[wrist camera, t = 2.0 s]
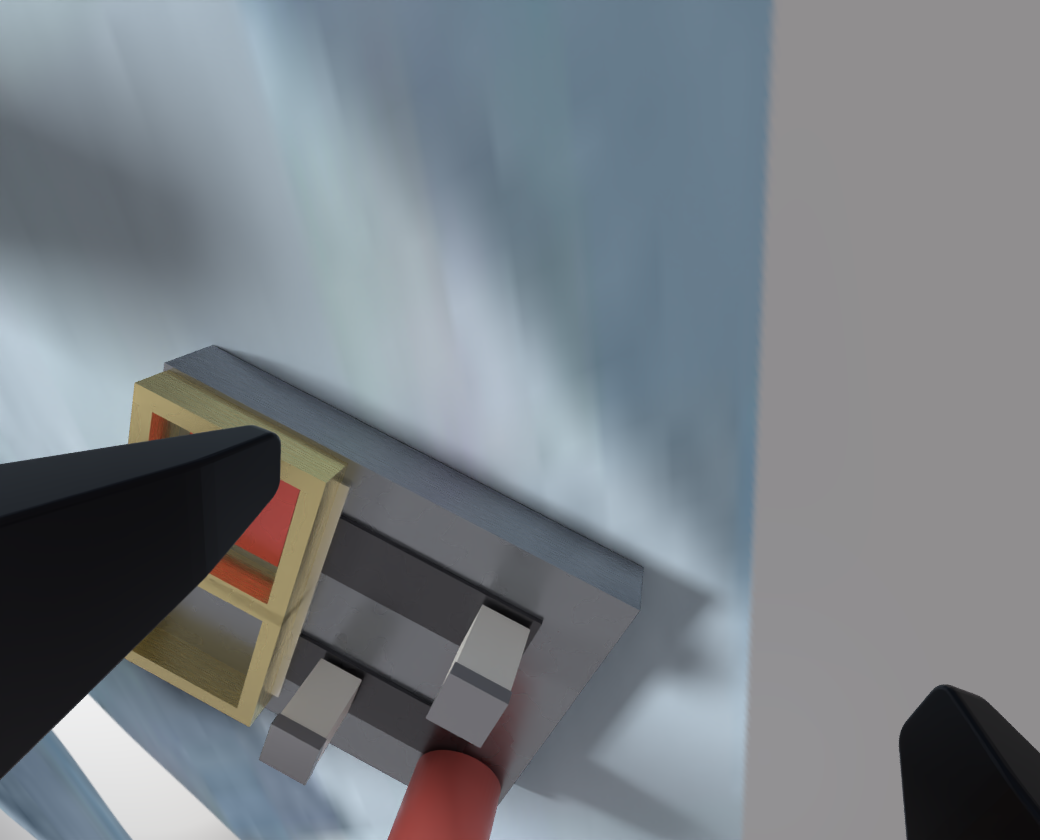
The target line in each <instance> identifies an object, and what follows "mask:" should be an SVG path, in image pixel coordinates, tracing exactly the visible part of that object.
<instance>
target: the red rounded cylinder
mask: <svg viewBox="0 0 1040 840" xmlns="http://www.w3.org/2000/svg"><path fill="white" fill-rule="evenodd" d="M500 793H501V786H500V782H499V780H498V778H497V777H496V775H495V774H494V773H493V771H492V770H491V769H490V768H488V767H487V766H486V765H485V764H483V763H482V762H480V761H479V760H477V759H475V758H473V757H471V756H469V755H466V754H463V753H460V752H456V751H451V750H435V751H430V752H428V753H426V754H424V755H422V756H421V757H420V758H419V760H418V762H417V764H416V767H415V769H414V772H413V775H412V777H411V780H410V782H409V785H408V788H407V790H406V793H405V795H404V798H403V801H402V803H401V806H400V808H399V811H398V814H397V816H396V819H395V821H394V824H393V827H392V829H391V832H390V834H389V837H388V840H489V838H490V834H491V830H492V826H493V822H494V817H495V813H496V809H497V805H498V801H499V797H500Z"/></svg>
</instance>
